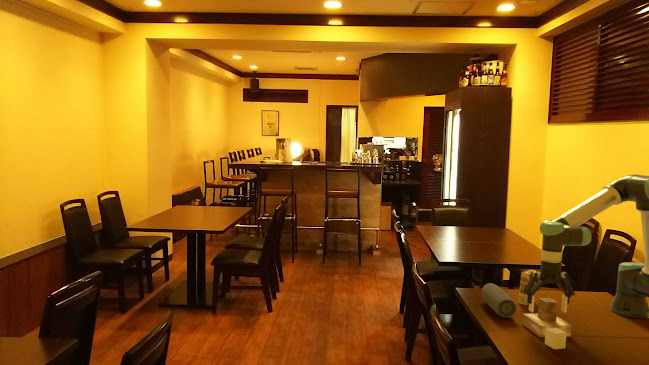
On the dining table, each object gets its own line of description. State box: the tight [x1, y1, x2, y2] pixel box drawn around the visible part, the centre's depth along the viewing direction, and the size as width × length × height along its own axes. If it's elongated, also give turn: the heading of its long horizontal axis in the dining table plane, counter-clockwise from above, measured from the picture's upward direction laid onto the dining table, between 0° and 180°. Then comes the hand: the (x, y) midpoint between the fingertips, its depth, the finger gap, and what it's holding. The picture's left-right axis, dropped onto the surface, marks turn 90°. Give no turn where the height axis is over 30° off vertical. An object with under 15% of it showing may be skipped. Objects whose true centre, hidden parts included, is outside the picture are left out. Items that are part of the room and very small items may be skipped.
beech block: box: [522, 313, 572, 338], centre depth 197 cm, size 13×13×5 cm
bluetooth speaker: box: [480, 282, 518, 319], centre depth 217 cm, size 23×9×10 cm, turn 179°
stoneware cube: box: [544, 328, 567, 350], centre depth 182 cm, size 5×5×6 cm
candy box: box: [518, 269, 538, 306], centre depth 229 cm, size 9×4×15 cm, turn 134°
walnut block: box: [537, 297, 558, 322], centre depth 197 cm, size 5×5×8 cm
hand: (547, 311), depth 196 cm, fingers open, 13 cm apart
